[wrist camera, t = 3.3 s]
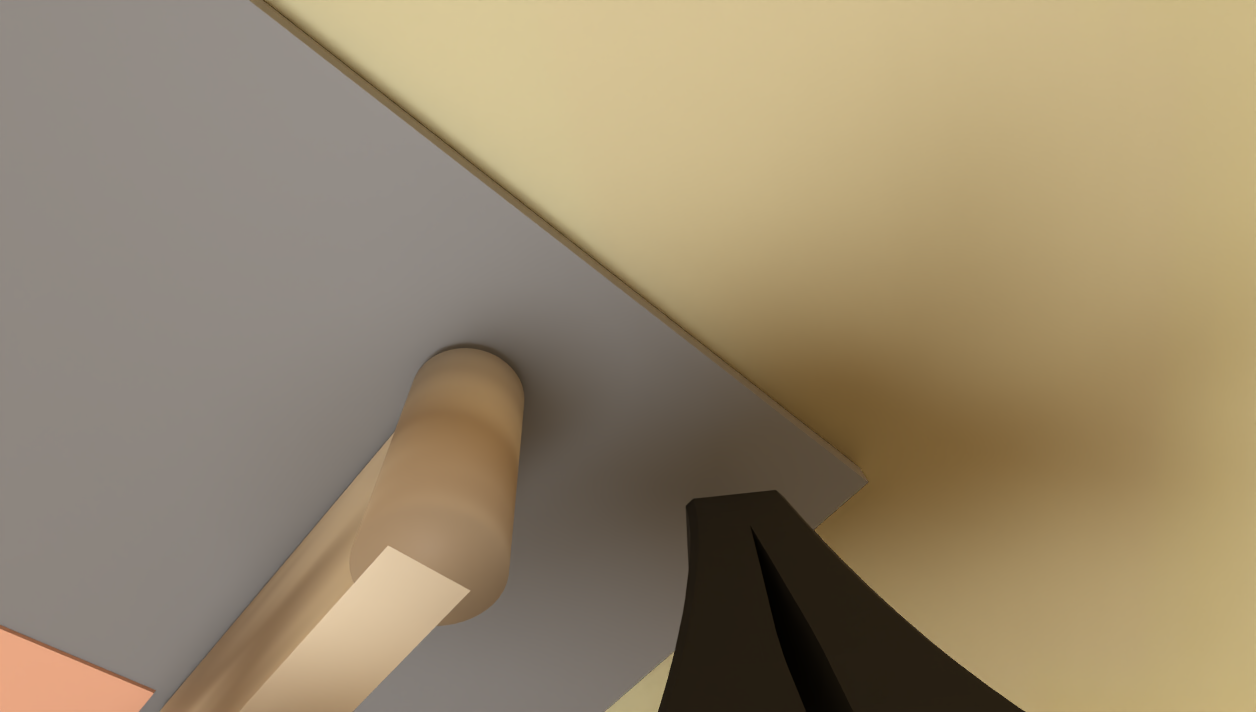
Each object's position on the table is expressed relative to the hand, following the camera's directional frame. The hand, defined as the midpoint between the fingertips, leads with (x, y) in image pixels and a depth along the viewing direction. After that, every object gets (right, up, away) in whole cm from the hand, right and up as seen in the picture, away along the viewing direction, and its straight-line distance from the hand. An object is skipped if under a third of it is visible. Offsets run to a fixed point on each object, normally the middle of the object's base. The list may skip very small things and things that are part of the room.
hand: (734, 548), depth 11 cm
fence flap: (-6, 0, +1) cm, 6 cm away
